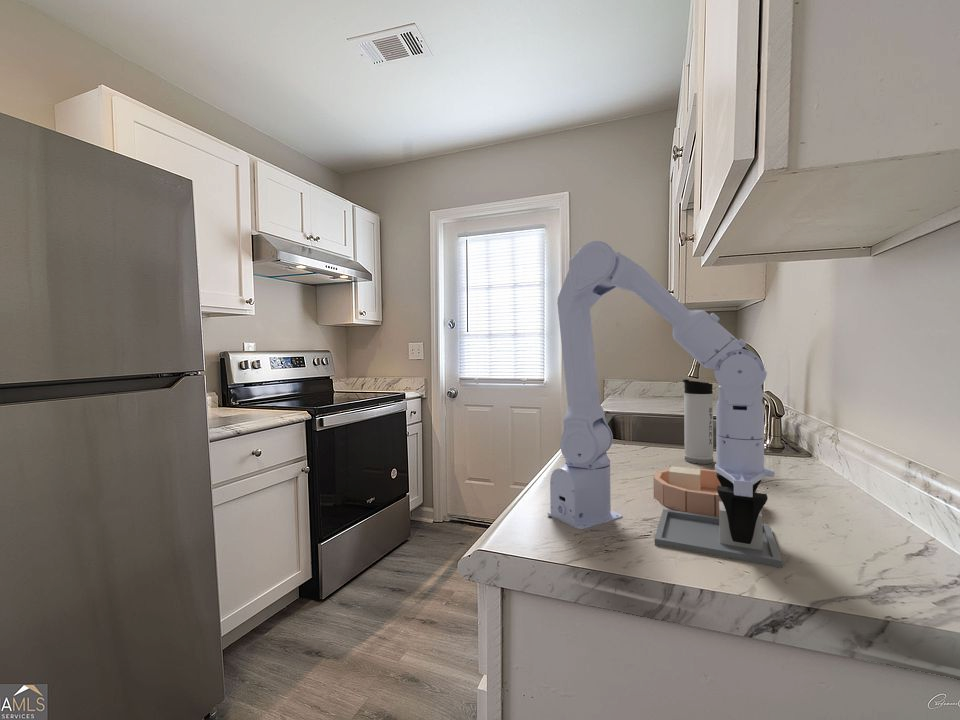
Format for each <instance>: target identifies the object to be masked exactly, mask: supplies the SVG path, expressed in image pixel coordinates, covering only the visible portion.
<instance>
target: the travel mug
mask: <svg viewBox="0 0 960 720" xmlns="http://www.w3.org/2000/svg"><path fill="white" fill-rule="evenodd" d="M682 383H684V390H683V391H684V394H683V396H684V397H683V400H684V403H683V405H684V406H683V407H684V408H683V410H684V411H683V412H684V414H683V415H684V419H683V421H684V427H683V428H684V429H683V431H684V432H683V433H684V460H685V462H687V461H688V463H690V462H691V463H692V464H695V463H697V464H696V465H710V463H711V464H713V462H714V404H713V403H714V397H713V396H714V393H713V389H714V388H713V383H710V382H705V381H704V382H703V381H695V380H689V379H682ZM691 463H690V464H691Z"/></svg>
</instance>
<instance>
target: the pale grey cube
mask: <svg viewBox="0 0 960 720" xmlns="http://www.w3.org/2000/svg"><path fill="white" fill-rule="evenodd" d="M763 517H764V516H763V514H762V510H761V511H760V513H759V515H758V518H757V521H756V525H755V530H754V535H753V538H752V541H751V544H746V543H740V542H734V541H733V540H732V537H731V533H730V528H729V522H728V517H727V513H726V510H725V507H724V504H723V502H720V501H719V536H720V543H721V544H727V545H733V546H739V547H745V548H751V549H757V550H763V524H764V523H763V519H764V518H763Z"/></svg>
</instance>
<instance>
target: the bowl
mask: <svg viewBox="0 0 960 720" xmlns="http://www.w3.org/2000/svg"><path fill="white" fill-rule="evenodd" d="M691 468H692V469H699V468H696V467H691ZM700 469H701V491H695V490H688V489H684V488H681V487H677V486H674V485H671V484H669V470H670V468H667V469H662V470H658V471H656V472H655V474H654V476H653V498H654V499H655V500H656V501H657V502H659V503H660V504H661V505H663V506H665V507H668V508H670V509H673V510H675V511H681V512H687V513H694V514H701V515H708V516H715V517H719V501H720V502H722V500H721V498H720V497H719V494H718V492H717V486H721V484H720V482H719V480H718V478H717V474H716V473H717V472H716V471H715V469H708V468H707V469H706V468H700ZM755 493H758V490H757V489H756V491H755Z"/></svg>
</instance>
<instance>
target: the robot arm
mask: <svg viewBox="0 0 960 720" xmlns="http://www.w3.org/2000/svg"><path fill="white" fill-rule="evenodd" d="M567 271H568V272H567V273H566V276H565V278H564V281H563V283H562V286H561V289H560V291H559V294H558V296H557V312H558V322H559V330H560V341H561V351H562V359H563V360H562V362H563V371H564V379H565V380H564V381H565V389H566V399H567V408H566V412H565V414H564V416H563V419H562V421H563V431H562V435H561V437H560V440H559V441H560V443H559V447H560V451H561V454H562V455H563V458H564V464H563V465H561V466H560V467H557V468H556V469H554V470H553V471H552V473H551V475H550V478H549V483H550V485H549V486H550V489H549V491H550V494H549V495H550V496H549V498H550V504H549V505H550V511H549V510H548V511H547V515H548V516H550V517H552V518H555V519H557V520H559V521H561V522H563V523H565V524H567V525H569V526H571V527H573V528H575V529H576V530H585V529H589V528H592V527H595V526H598V525H602V524H605V523H608V522H612V521H616V520H620V519H623V514H620V513H618V512H616V511H613V510H611V506H612V505H611V503H612V502H611V460H610V458H609V456H608V453H607V452H608V451H609V450H610V449H611V446H612V445H613V440H614V435H613V432H612V430H611V428H610V426H609V424H608V422H607V421H606V413H605V411H604V408H603V406H602V405H601V402H600V394H599V386H598V385H599V384H598V374H597V363H596V355H595V348H594V346H595V345H594V336H593V328H592V327H593V326H592V317H591V309H592V307H593V306H594V305H595V304H596V303H597V302H598V301H599V300H600V299H601V297H603V295H605V294H607V293H608V292H611V291H612V290H614V289H616V288H618V289H620V290H622V291H626V292H630V293H631V292H632V293H635V294H636V295H637V296H638V297H639V298H640V299H642V300H643V301H644V302H645V303H646V304H647V305H648V306H650V308H652V309H653V310H654V311H656V313H658V314H659V315H660V316H661V317H663V318H664V319H665V320H666V321H667V322H668V323H669V324H670V325H672V326H671V327H672V339H673V340H674V341H675V342H676V343H677V344H678V345H679V346H680V347H681V348H683V350H685V351H686V352H687V354H689V355H690V356H691V357H692V358H693V359H694V360H695V361H697V362H698V363H699V364H700V365H701V366H702V368H705V369H711V370H713V372H714V378H715V380H716V382H717V383H718V400H717V402H716V404H715V405H716V407H715V409H716V410H715V412H716V414H715V415H716V419H715V423H716V435H715V438H716V440H715V441H716V445H715V446H716V447H715V448H716V451H715V452H716V453H715V454H716V457H715V458H716V459H715V460H716V463H715V464H714V470H715V471H716V472H717V473H716V474H717V478H718V480H719V482H720V484H721V486H717V492H718V494H719V497H720V498H721V500H722V502H723V504H724V507H725V510H726V513H727V517H728V522H729V528H730V533H731V537H732V540H733V541H734V542H740V543H746V544H751V541H752V538H753V535H754V530H755V525H756V521H757V518H758V515H759V513H760V511H761V512H762V509H763V507H764V506H765V505H766V504H767V502H768V499H769V498H768V494H767V493H761V492H757V493H755V491H756V489H757V488H758V487H759V486H760V484H761V482H762V480H763V479H764V478H766V477H771V478H774V477H775V476H776V475H775V470H774V469H772V468H767V467H765V406H764V405H765V404H764V403H763V398H764V390H763V388H762V386H763V384H764V383H765V381H766V378H767V373H768V371H766V369H765V368H766V367H765V365H764V363H763V361H762V359H761V358H760V357H758V355H756V354H755V353H754V351H751V350H748V349H744V347H745V346H746V345H747V342H746V341H745V340H744V339H743V338H739V340H738V339H737V337H735V336H734V335H733V334H732V333H731V332H729V330H727V328H725V327H724V326H723V325H721V324H720V323H719V321H720V317H719V316H718V315H716V313H714V312H711V313H710V314H709V313H708V312H706V310H703V309H695V310H690V309H688V308H687V307H686V306H685V305H683V303H682V302H680V301H679V300H678V298H676V297H675V296H674V295H672V293H671V292H669V290H667V288H665V287H664V285H662V283H660V282H659V281H658V280H657V279H655V277H653V275H652V274H650V273H649V272H648V271H647V270H646V269H645V268H644V267H643V266H641V265H640V264H639V263H636V262H635V261H634V260H633V259H631V258H629V257H627V256H626V255H624V254H623V253H621V252H619V251H617V252H616V251H615V250H614V249H613V247H612V246H611V245H609V244H608V243H607V242H605V241H601V240H593V241H589V242H587V243H585V244H584V245H582V246H581V247H580V248H579V249H578V251H576V253H574V255H573V256H572V257H571V258H570V259H569V261H568V270H567Z"/></svg>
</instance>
